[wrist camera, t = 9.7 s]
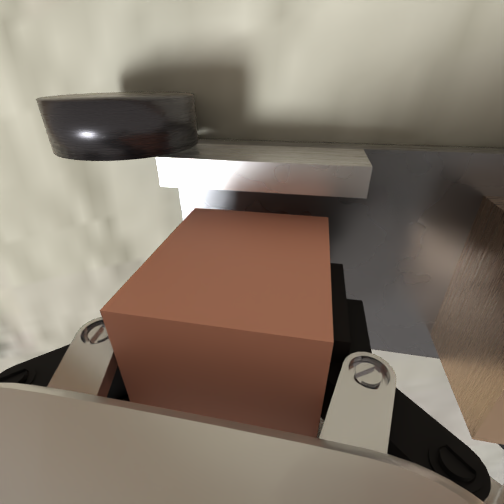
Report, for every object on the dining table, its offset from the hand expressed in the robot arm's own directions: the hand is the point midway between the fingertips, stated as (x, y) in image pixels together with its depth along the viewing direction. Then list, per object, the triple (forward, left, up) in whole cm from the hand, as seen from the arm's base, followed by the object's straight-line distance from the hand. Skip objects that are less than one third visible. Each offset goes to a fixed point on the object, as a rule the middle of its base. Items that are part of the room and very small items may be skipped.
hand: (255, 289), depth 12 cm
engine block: (0, 0, -1) cm, 1 cm away
